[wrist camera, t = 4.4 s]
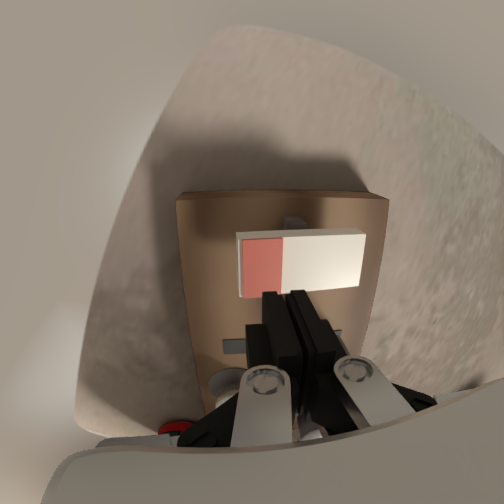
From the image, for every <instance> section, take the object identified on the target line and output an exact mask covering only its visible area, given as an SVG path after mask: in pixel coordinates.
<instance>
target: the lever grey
mask: <svg viewBox="0 0 504 504" xmlns="http://www.w3.org/2000/svg"><path fill="white" fill-rule="evenodd" d="M296 420H297V424H298V428H299V432H300V435H301V439H302V440H301V441H304V440H310V439H316V438H322V435H321V434H320V431H319V425H318V424H316V423H314V422H306V423H305V420H304V416H303V415H298V416H297V418H296Z"/></svg>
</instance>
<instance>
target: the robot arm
mask: <svg viewBox="0 0 504 504" xmlns="http://www.w3.org/2000/svg"><path fill="white" fill-rule="evenodd" d="M245 337H246V358H247V369H248V370H247V371H246V372H245V373H244V374H243V376H242V378H241V382H240V388H239V392H237V393H236V394H235V395H234V396H232V397H231V398H230V399H228V400H227V401H225V402H224V403H223V404H221V405H220V406H219V407H217V408H216V409H215V410H213V411H212V412H210V413H209V414H208V415H206V416H205V417H203V418H202V419H200V420H199V421H198V422H196V423H195V424H193V425H192V426H190V427H189V428H187V429H186V430H185V431H184V432H182V433H181V434H180V435H179V436H171V437H170V435H169V434H161V435H151V436H138V437H118V438H108V439H104V440H102V441H101V442H99V443H98V444H97V446H96V447H95V448H93V449H88V450H84V451H80V452H77V453H74V454H72V455H70V456H69V457H67V458H66V459H65V460H64V461H62V463H61V464H60V465H59V466H58V468H57V469H56V471H55V472H54V474H53V476H52V478H51V480H50V482H49V484H48V486H47V488H46V491H45V494H44V495H43V498H42V501H41V504H504V378H500V379H497V380H494V381H491V382H488V383H486V384H484V385H481V386H479V387H476V388H474V389H469V390H463V391H458V392H452V393H446V394H440V395H434V397H433V398H432V397H430V396H428V395H426V394H423V393H420V392H417V391H414V390H411V389H408V388H405V387H402V386H399V385H396V384H393V383H391V382H390V381H389V380H388V379H387V378H386V377H385V375H384V374H383V373H382V372H381V371H380V370H379V369H378V367H377V366H376V365H375V364H374V363H373V362H372V361H371V360H369V359H367V358H365V357H361V356H355V355H351V356H347V354H346V352H345V350H344V348H343V347H342V345H341V343H340V341H339V339H338V337H337V336H336V334H335V332H334V330H333V328H332V327H331V325H330V323H329V321H328V320H327V319H320V318H319V316H318V314H317V312H316V310H315V308H314V306H313V304H312V302H311V300H310V299H309V297H308V295H307V293H306V291H305V290H291V291H290V294H286V295H285V301H284V298H283V296H282V294H277V291H266V292H262V324H245ZM296 408H297V412H298V415H303V416H304V420H305V423H306V422H314V423H316V424H318V425H319V431H320V434H321V435H322V438H316V439H310V440H304V441H297V442H292V425H293V424H294V420H295V414H296Z"/></svg>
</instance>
